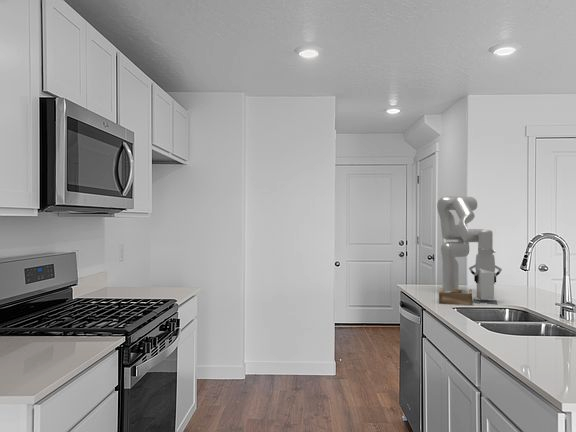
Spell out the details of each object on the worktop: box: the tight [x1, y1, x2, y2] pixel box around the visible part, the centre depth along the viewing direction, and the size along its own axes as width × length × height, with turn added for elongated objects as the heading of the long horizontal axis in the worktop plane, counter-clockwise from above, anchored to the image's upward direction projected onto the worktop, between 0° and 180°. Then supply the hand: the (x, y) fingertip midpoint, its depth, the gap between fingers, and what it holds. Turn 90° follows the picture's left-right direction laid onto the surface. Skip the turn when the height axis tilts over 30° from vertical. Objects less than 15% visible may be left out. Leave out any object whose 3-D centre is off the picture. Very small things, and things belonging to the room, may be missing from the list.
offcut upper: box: [450, 289, 463, 293], centre depth 286 cm, size 4×10×3 cm, turn 147°
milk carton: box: [476, 269, 495, 300], centre depth 279 cm, size 7×7×19 cm
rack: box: [438, 287, 473, 306], centre depth 280 cm, size 18×17×6 cm
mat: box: [473, 298, 499, 305], centre depth 279 cm, size 12×12×1 cm
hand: (485, 283), depth 279 cm, fingers closed on milk carton, 8 cm apart
